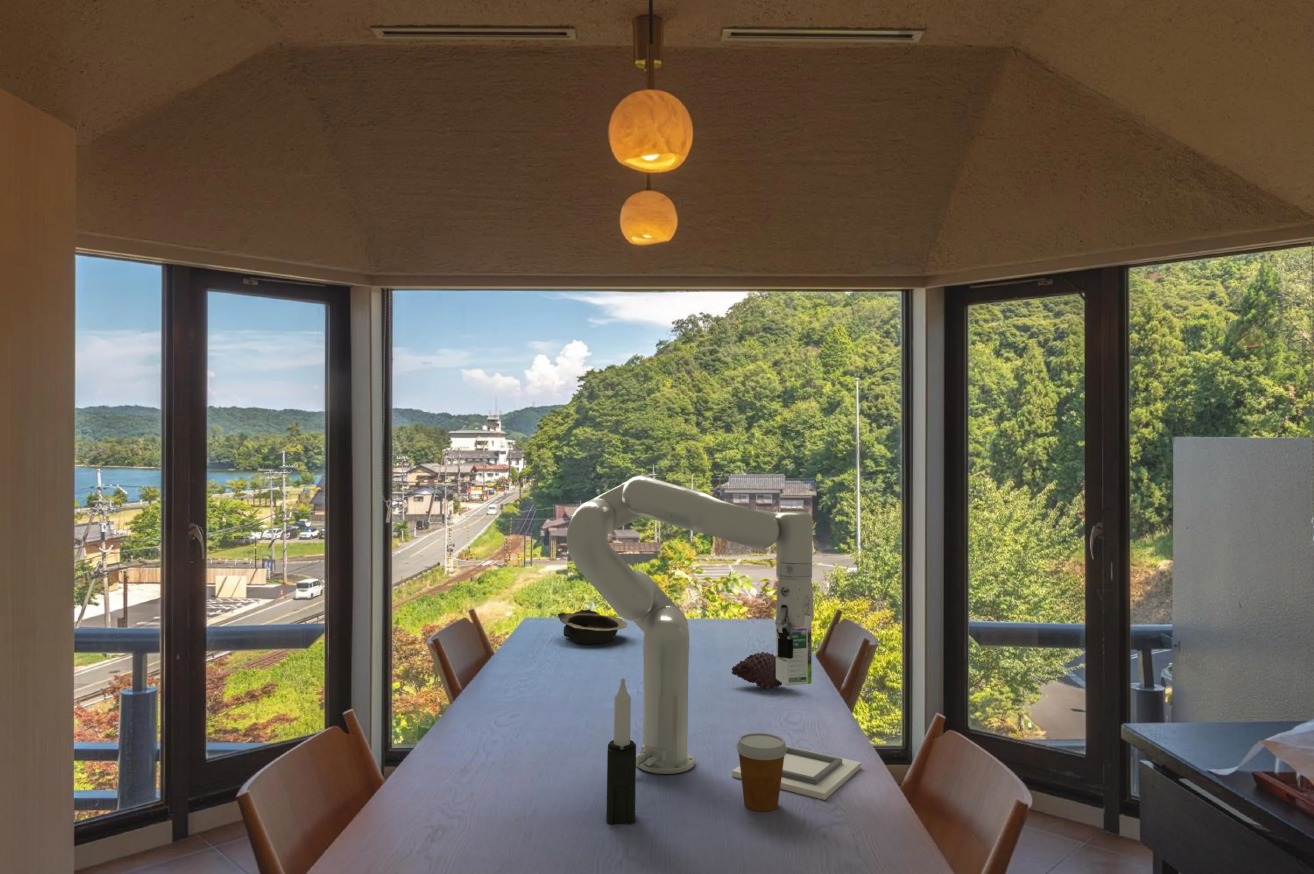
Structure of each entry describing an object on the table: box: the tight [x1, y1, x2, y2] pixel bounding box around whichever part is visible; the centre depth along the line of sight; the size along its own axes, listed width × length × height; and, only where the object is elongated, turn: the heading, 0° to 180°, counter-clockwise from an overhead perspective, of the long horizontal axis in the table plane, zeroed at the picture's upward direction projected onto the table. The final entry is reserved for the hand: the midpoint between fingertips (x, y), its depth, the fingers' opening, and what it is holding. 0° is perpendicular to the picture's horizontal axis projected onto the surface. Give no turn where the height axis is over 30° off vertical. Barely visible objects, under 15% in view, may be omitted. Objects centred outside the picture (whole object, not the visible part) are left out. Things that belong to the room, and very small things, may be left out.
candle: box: [605, 678, 637, 825], centre depth 152 cm, size 5×5×25 cm
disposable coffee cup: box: [735, 732, 787, 812], centre depth 158 cm, size 10×10×12 cm
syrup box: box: [775, 614, 813, 687], centre depth 178 cm, size 6×6×14 cm
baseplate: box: [731, 745, 862, 801], centre depth 174 cm, size 20×20×2 cm
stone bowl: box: [557, 609, 628, 645], centre depth 296 cm, size 25×25×9 cm
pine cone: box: [731, 651, 783, 690], centre depth 238 cm, size 18×10×10 cm, turn 83°
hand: (793, 653), depth 178 cm, fingers closed on syrup box, 7 cm apart
